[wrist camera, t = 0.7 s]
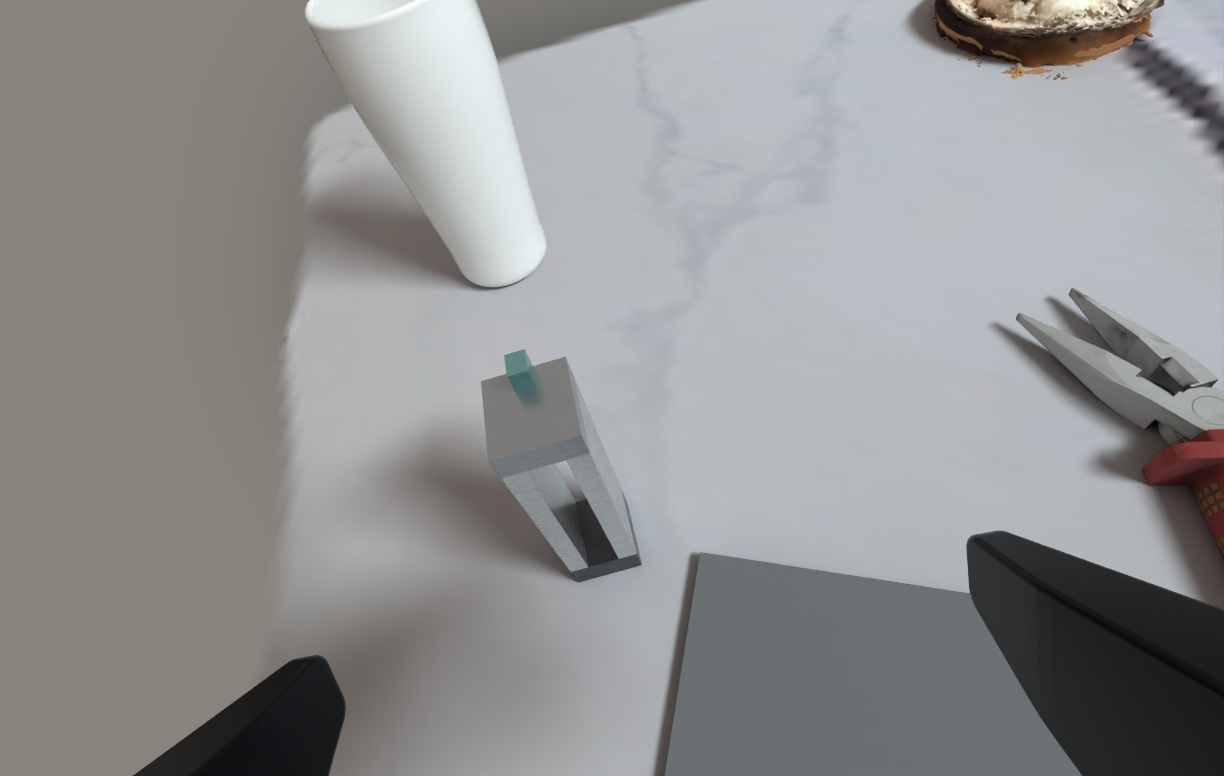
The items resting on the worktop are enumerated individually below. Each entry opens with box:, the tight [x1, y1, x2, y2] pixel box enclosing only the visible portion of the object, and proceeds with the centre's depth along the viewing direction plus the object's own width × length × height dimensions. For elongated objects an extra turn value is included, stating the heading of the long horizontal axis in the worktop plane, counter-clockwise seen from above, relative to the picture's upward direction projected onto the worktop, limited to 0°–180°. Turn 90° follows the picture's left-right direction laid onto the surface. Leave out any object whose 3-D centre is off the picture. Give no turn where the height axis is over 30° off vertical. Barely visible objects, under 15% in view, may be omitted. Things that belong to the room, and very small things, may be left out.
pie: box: [933, 0, 1164, 80], centre depth 39 cm, size 15×15×4 cm
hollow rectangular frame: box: [481, 349, 642, 582], centre depth 21 cm, size 3×3×11 cm
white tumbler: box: [305, 0, 547, 287], centre depth 31 cm, size 7×7×15 cm
